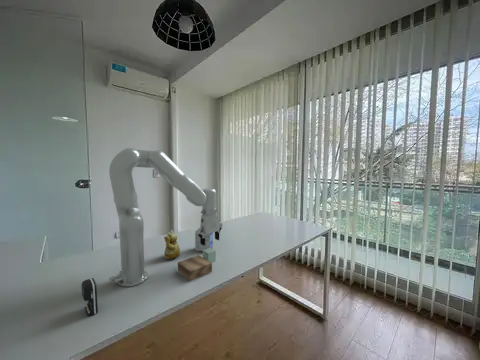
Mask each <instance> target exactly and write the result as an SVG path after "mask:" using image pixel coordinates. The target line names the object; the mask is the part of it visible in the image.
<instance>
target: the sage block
mask: <svg viewBox="0 0 480 360" xmlns="http://www.w3.org/2000/svg"><path fill="white" fill-rule="evenodd" d="M216 252H217V251H216V250H215V249H211V248H208V249H205V250H203V251H202V258H204V259H206V260H208V261H209V262H211V263H212V264H213V263H214V262H216V260H217V259H216V256H217V255H216Z"/></svg>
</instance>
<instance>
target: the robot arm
mask: <svg viewBox="0 0 480 360" xmlns="http://www.w3.org/2000/svg"><path fill="white" fill-rule="evenodd" d="M134 168H145V169H146V168H148V169H149V168H150V169H151V168H153V170H154V171H156V172H157V173H158V174H159V175H160V176H161V177H162V178H163V179H164V180H165V181H166V182H167V183H168V184H170V186H172V187H173V188H174V189H176V190H177V191H179V192H181V194H183V195H184V196H185V199H186V200H187V201H188V203H191V204H192V205H194V207H195V206H196V207H201V208H202V210H201V211H200V214H201V218H200V226H199V228H198V229H196V230H197V231H196V230H195V231H196V233H197V235H198V236H199V237H200V243H201V245H204V246H205V238H204V237H205V235H206V234H211V233H213V234H214V240H217V241H220V233H221V231H222V229H223V223H221V222H220V218H219V214H218V212H217V191H216V189H215V188H210V187H209V188H201V187H200V186H199V185H197V183H196V182H194V180H193V179H191V178H190V177H189V176H188V175H187V174H186V173H185V172H184V171H182V169H181V168H180V167H178V165H177V164H176V163H174V161H173V160H172V159H171V158H170V157H169V156H168V155H167V154H166V153H165V152H164V151H161V150H145V149H136V148H134V147H126V148H124V149H122V150H120V151H119V152H118V153H117V154H116V155H115V156H114V157H113V158H112V160H111V162H110V164H109V168H108V169H109V170H108V171H109V172H108V174H109V180H110V185H111V189H112V195H113V202H114V204H115V208H116V213H117V217H118V224H119V225H118V226H119V228H118V229H119V243H120V244H119V248H120V250H119V251H120V267H121V268H120V269H121V270H119V271H118V273H117V274H116V275H113V276H110V277H109V278H108V280H109V282H110V283H112V282H114V283H117V284H118V285H119V286H120V287H133V286H137V285H141V284H142V283H144V282H146V281H147V279H148V278H149V272H148V271H146V270H145V248H144V247H145V246H144V245H145V243H144V242H145V241H144V234H145V233H144V230H145V226H144V225H145V222H144V218H143V216H142V215H141V211H140V205H139V203H138V202H139V201H138V194H137V192H136V188H135V184H134V183H135V182H134V179H133V170H134ZM200 231H201V234H200ZM202 235H203V236H202Z"/></svg>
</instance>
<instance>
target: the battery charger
mask: <svg viewBox="0 0 480 360" xmlns="http://www.w3.org/2000/svg"><path fill="white" fill-rule="evenodd" d="M80 286H81V288H80V289H81V290H80V291H81V296H82V298H83V301H85V302H87V303H86V305H85V307H84V311H85V313H86V316H88V317H91V316H93V315H96V314H98V313H99V311H98V310H99V308H98V289H97V282H96V280H95V278H93V277H90V278H88V279H85V280H82V282H81V285H80Z"/></svg>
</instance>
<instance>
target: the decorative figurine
mask: <svg viewBox="0 0 480 360" xmlns="http://www.w3.org/2000/svg"><path fill="white" fill-rule="evenodd" d="M163 238H164V241H165V249H164V257H163V258H164V259H165V260H171V261H172V260H174V259H176V258H177V257H179V255H180V254H181V253H180V252H181V248H180V245H179V244H178V241H177V239H178V235H177V234H176V233H175V231H173V229H170V232H169V231H167V235H165V236H164V237H163Z"/></svg>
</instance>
